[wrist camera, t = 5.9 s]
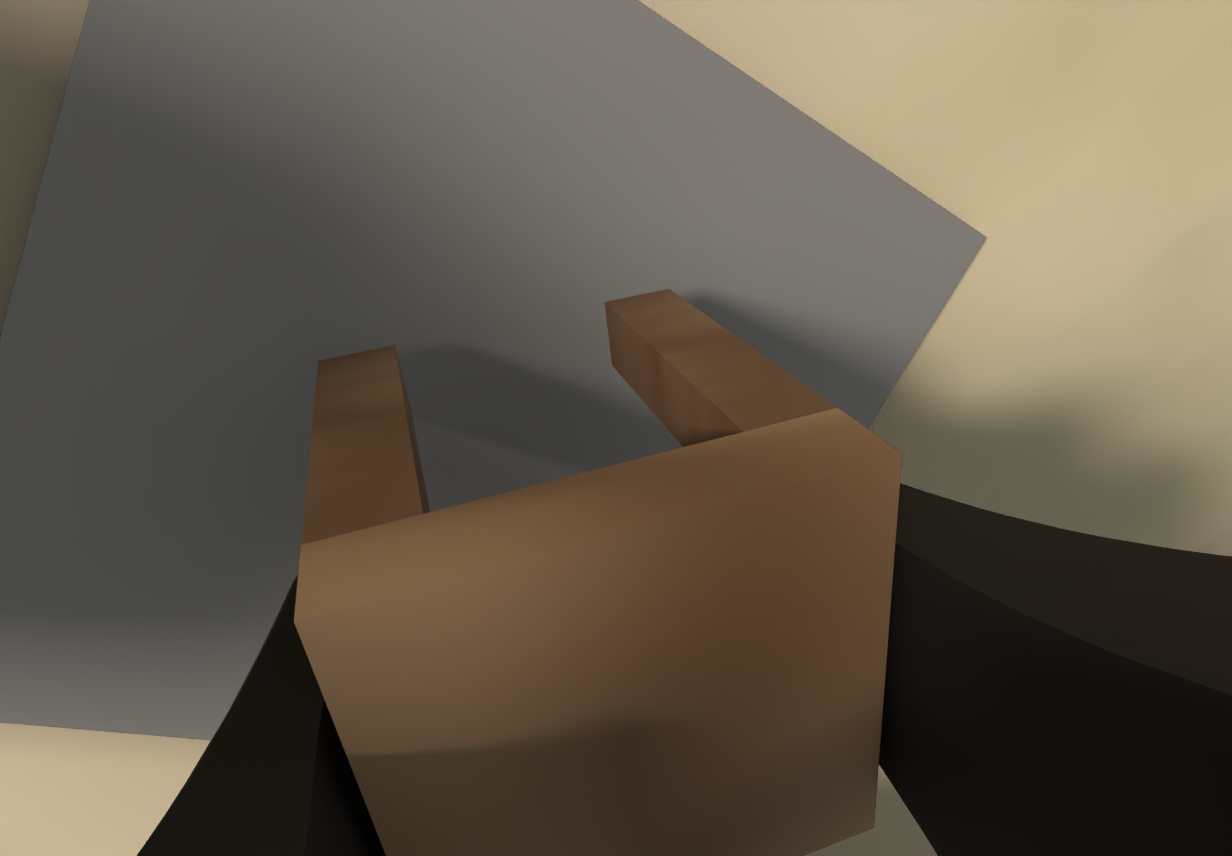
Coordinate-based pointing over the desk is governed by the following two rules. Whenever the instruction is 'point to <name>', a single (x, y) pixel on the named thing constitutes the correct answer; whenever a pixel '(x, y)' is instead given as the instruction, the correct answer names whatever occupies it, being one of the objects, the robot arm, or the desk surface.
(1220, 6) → the desk surface
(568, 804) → the stool
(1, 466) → the mat
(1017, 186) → the desk surface
